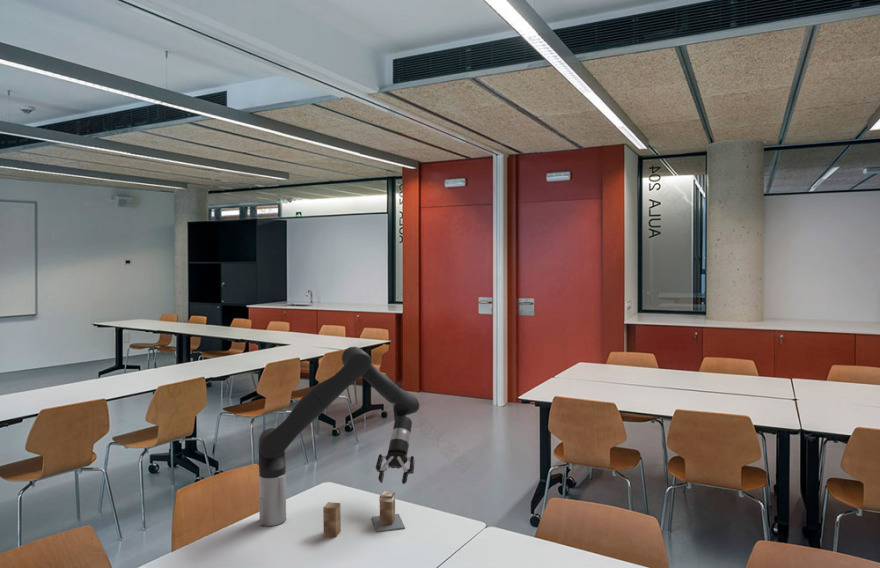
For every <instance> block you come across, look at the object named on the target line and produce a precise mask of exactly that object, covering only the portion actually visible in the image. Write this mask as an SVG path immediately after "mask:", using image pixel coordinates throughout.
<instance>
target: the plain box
mask: <svg viewBox="0 0 880 568" xmlns="http://www.w3.org/2000/svg"><path fill="white" fill-rule="evenodd" d="M322 508H323V510H322V511H323V514H322V515H323V516H322V517H323V519H322V520H323V537H327V538H328V537H329V538H337V537H338V536H339V535H340V534H341V531H342V528H341V526H342V524H341V522H342V520H341V518H342V517H341V515H342V514H341V502H331V501H329V502H327V503H326V504H325V505H324V506H323V507H322Z"/></svg>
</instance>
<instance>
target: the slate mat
mask: <svg viewBox="0 0 880 568" xmlns="http://www.w3.org/2000/svg"><path fill="white" fill-rule="evenodd" d="M371 520H372V523H373V526H374V528H375V531H376V533H381V532H382V533H383V532H388V531H389V532H390V531H398V530H405V529H406V526H405V524H404V523H403V520H402V518H401V515H400V514H399V513H395V521H394V523H393V524H392V525H385V524H380V515H377V516H371Z"/></svg>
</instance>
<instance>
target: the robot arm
mask: <svg viewBox="0 0 880 568" xmlns="http://www.w3.org/2000/svg"><path fill="white" fill-rule="evenodd" d="M371 359H372V358H371V356H370V355H369V353H367V352H366V351H365V350H363V348H360V347H358V346H349V347H347V348H345V350H344V351H343V352H342V355H341V362H342V365H343V366H342V367H341V368H340V369H339V371H338V372H336V373H335V374H334V375H332V376H331V377H329V378H327V379H325V380H323V381H321V382H319V383H317V384H315V385H314V386H313V387H312V388H310V389H309V390H308V391H307V392H306V393H305V394H304V395H303V396H302V397H301V398H300V399H299V401H298V402H296V404H295V406H294V407H293V409H292V410H291V411H290V413H289V414H288V416H287V417H286V418H285V420H284V421H282V422H281V423H280V424H279V425H278V426H276V427H275V428H273V427H272V428H267V429H265V430H263V431H262V432H261V434H260V435H259V437H258V470H259V471H258V472H259V473H258V476H259V479H258V482H259V500H258V501H259V502H258V503H259V505H258V506H259V507H258V508H259V510H258V511H259V514H258V515H259V526H265V527H273V526H274V527H275V526H279V525H281V524H283V523H285V522H286V521H287V497H286V496H287V489H286V488H287V482H286V481H287V480H286V474H287V472H286V471H287V470H286V468H287V467H286V456H285V455H286V450H287V448H288V447H289V446H290V445H291V444H292V442H293V441H294V440H295V439H296V438H297V437H298V435H300V434H301V433H302V432H303V431H304V430H305V429H306V428H307V427H308V426H310V425H311V424H312V423H313V422H314V421H315V420H316V419H317V418H318V417H320V415H322V414H323V413H324V411H326V409H327V408H328V407H330V405H331V404H332V403H333V402H334V401H335V400H336V399H337V398H338V397H340V395H342V393H344V392H345V390H347V389H348V388H349V387H350V386H351V385H353V383H355V382H356V381H357V380H358V379H360V378H363V379H364V380H365V381H366V382H367V383H368V385H370V386H371V387H372V388H373V389H374V390H375V391H376V392H377V393H378V394H379V395H380V396H381V397H382V398H383V399H385V400H386V401H387V402H388V403H390V404H393V419H394V423H393V428H392V432H391V435H390V440H389V446H388V450H387V453H386V455H383V454H382V453H381V454H379V455H378V458H377V460H376V464H375V470H376V471H377V473H378V478H377V479H378V482H379V483H381V484H382V483H383V481H384V476H385V473H386V471H389V470H390V469H402V471H403V474H402V479H401V483H402V485H405V484H407V481H408V478H409V477H408V476H409V475H410V474H411V475H412V474H414V473H415V471H414V470H415V463H416V462H415V461H416V460H415V457H414V456H413V455H410V456H409V457H408V452H409V448H410V447H409V446H410V443H411V432H412V428H413V427H412V426H413V422H412V419H411V418H410V417H409V416H408V415H413V414H415V413H417V412H418V411H419V409H420V402H419V399H418V398H417V397H416V396H415V395H413V394H412V393H411V392H408V391H407V390H404V389H402V388H400V387H399V386H398V385H397V384H396V383H395V382H394V381H393V380H391V378H389V377H388V376H387V375H385V373H383V372H382V371H380V370H379V368H377V367H376V366H375V365H374V364H372V360H371ZM407 416H408V417H407ZM383 462H384V463H383ZM407 462H408V463H409V467H408V468H407V466H406V465H405V464H406V463H407ZM382 463H383V465H382Z"/></svg>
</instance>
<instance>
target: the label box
mask: <svg viewBox="0 0 880 568" xmlns="http://www.w3.org/2000/svg"><path fill="white" fill-rule="evenodd" d="M378 499H379V500H378V501H379V516H380V524H385V525H392V524H393V523H394V521H395V514H396V492H394V491H382V492H381V494H380V495H379V498H378Z"/></svg>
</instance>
